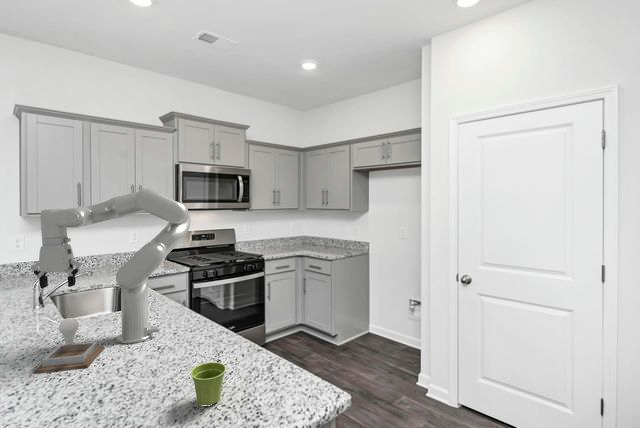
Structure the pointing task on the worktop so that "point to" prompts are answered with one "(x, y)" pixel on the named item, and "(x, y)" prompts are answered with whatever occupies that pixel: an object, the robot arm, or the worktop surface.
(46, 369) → the socket base
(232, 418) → the worktop surface
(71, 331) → the lightbulb
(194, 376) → the plant pot
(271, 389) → the worktop surface
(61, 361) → the square picture frame
